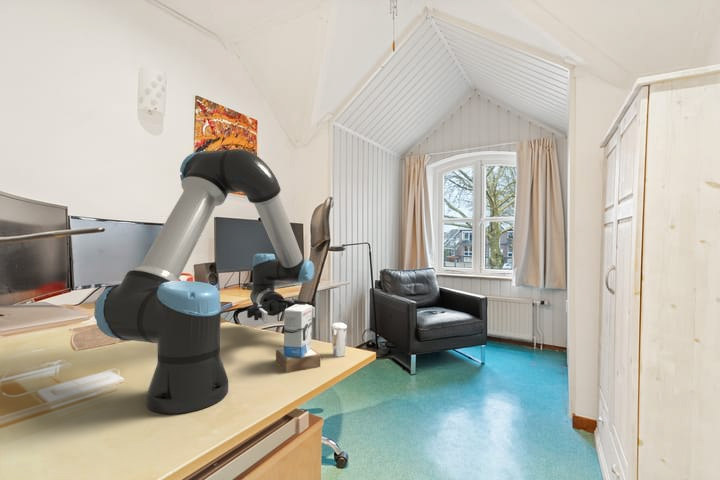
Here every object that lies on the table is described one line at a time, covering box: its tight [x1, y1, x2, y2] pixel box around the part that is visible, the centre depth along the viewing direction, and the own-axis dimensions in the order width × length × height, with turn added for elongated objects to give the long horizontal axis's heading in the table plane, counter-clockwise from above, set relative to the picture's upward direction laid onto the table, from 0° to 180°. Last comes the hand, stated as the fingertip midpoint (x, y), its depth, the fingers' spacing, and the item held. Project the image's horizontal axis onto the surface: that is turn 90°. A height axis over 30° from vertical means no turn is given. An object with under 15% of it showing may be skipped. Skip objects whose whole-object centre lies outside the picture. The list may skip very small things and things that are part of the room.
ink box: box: [283, 304, 313, 357], centre depth 91 cm, size 8×5×12 cm, turn 169°
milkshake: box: [330, 322, 349, 358], centre depth 98 cm, size 5×5×10 cm
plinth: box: [275, 347, 321, 374], centre depth 91 cm, size 9×9×3 cm
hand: (290, 315), depth 96 cm, fingers open, 13 cm apart
